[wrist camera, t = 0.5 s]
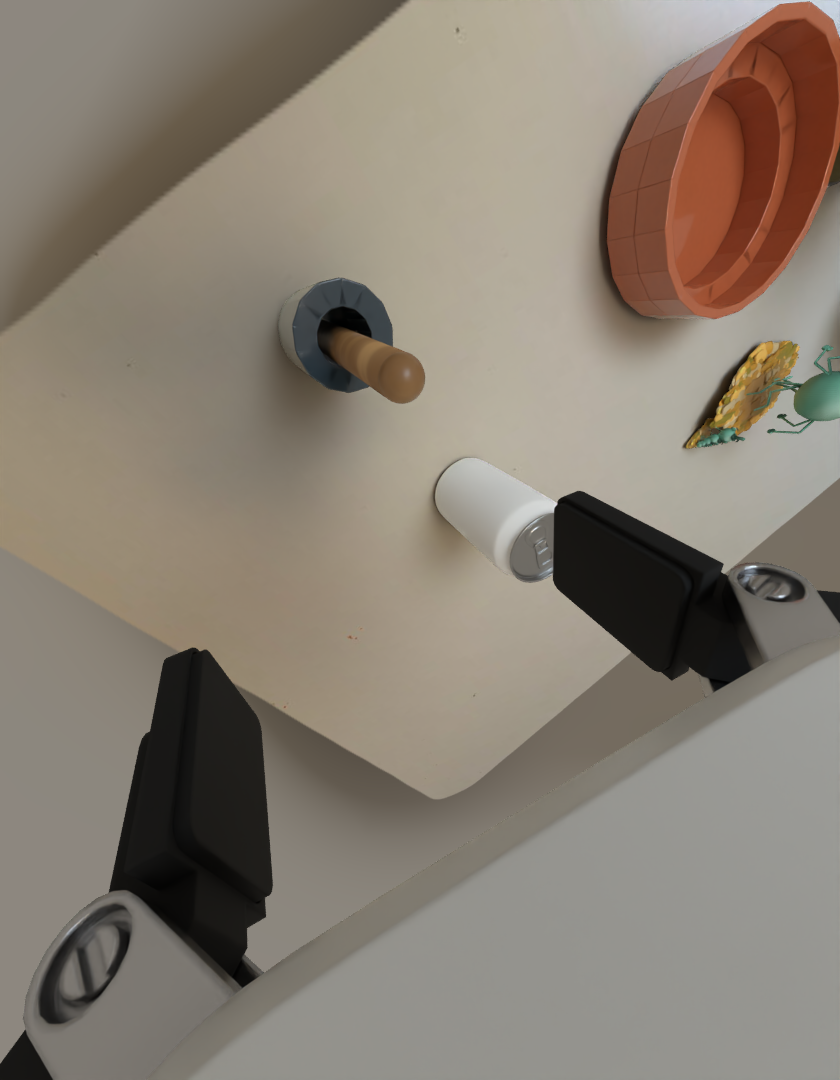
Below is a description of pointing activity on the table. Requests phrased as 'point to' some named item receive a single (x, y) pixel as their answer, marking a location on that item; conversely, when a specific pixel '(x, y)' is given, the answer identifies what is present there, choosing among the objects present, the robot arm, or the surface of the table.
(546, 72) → the table surface
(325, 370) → the utensil pot
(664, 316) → the bowl
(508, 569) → the can
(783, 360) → the insect on leaf figurine
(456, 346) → the table surface
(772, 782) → the robot arm
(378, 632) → the table surface
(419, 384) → the stick
